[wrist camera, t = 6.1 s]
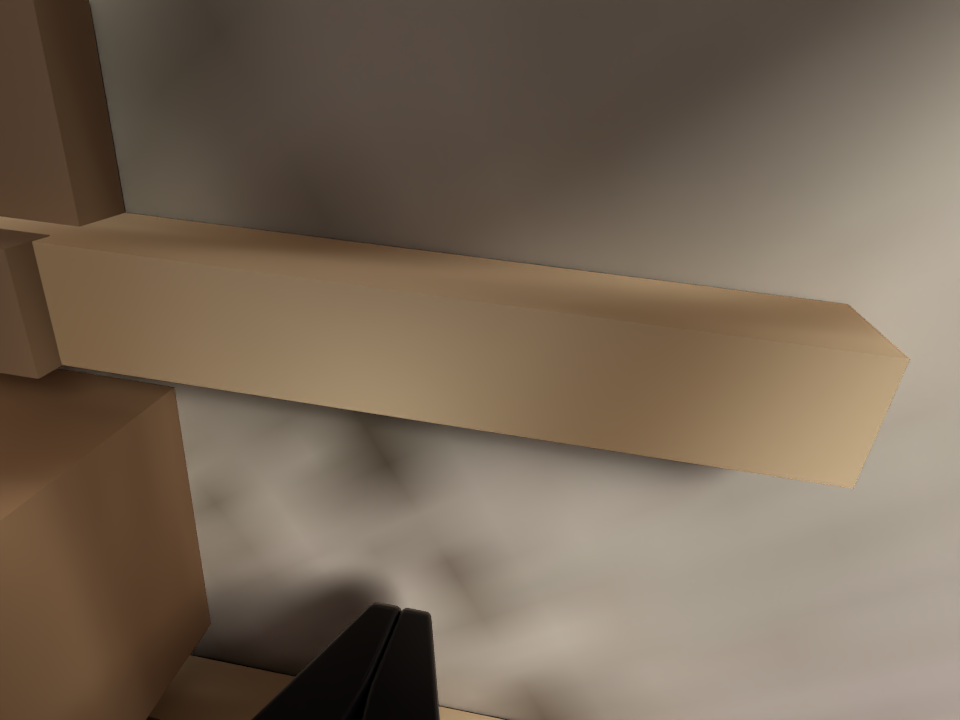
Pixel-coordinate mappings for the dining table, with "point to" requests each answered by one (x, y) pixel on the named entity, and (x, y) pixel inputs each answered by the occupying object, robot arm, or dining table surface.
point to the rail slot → (393, 324)
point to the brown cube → (94, 548)
